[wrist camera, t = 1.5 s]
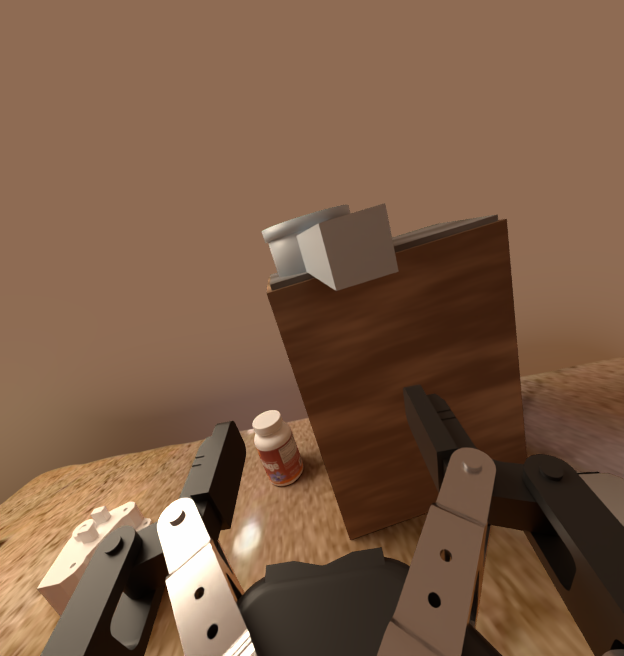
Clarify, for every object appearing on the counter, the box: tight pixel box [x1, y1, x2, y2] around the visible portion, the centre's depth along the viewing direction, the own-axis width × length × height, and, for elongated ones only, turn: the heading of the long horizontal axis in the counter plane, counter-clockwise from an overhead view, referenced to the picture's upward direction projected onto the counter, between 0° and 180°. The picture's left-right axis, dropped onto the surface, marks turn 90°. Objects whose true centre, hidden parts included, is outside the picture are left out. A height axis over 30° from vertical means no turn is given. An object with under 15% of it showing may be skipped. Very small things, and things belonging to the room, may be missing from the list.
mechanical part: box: [37, 502, 153, 617], centre depth 36 cm, size 11×12×12 cm
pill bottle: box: [252, 410, 303, 486], centre depth 48 cm, size 6×6×11 cm
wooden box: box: [267, 215, 527, 540], centre depth 39 cm, size 16×24×33 cm, turn 98°
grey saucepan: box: [262, 204, 399, 291], centre depth 26 cm, size 23×10×5 cm, turn 8°
